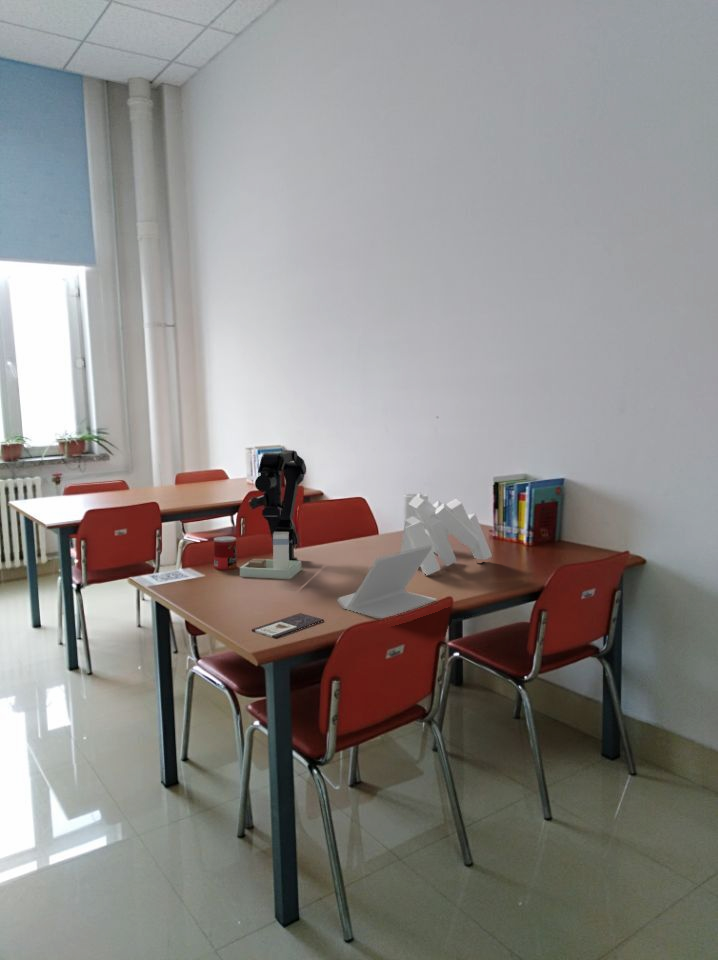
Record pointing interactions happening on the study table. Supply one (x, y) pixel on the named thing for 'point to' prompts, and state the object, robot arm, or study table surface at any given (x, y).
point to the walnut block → (257, 563)
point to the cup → (407, 509)
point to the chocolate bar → (286, 625)
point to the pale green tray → (271, 570)
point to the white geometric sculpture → (442, 532)
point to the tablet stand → (388, 586)
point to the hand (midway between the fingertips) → (273, 531)
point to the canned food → (225, 553)
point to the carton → (281, 550)
